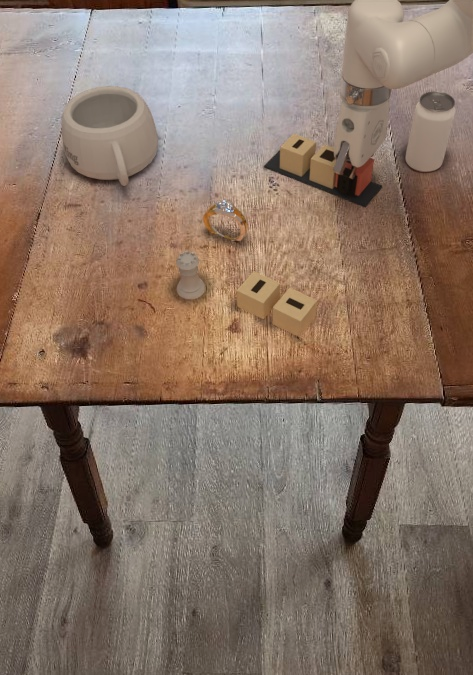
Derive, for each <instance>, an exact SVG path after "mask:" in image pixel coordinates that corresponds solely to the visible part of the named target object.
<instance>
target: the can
mask: <svg viewBox="0 0 473 675" xmlns="http://www.w3.org/2000/svg"><path fill="white" fill-rule="evenodd" d="M455 105H456V100H455V99H454V97H453V96H451V94H448V93H447V92H443V91H437V90H435V91H434V90H432V91H427V92H424V93H423V94H421V96H420V97H419V100H418V102H417V103H416V104H415V107H414V112H413V116H412V122H411V127H410V132H409V136H408V142H407V147H406V151H405V157H404V158H405V160H404V161H405V163H406V165H408V167H410V169H411V170H414V171H417V172H419V173H433V172H435V171H436V170H438V169H439V168H441V167H442V165H443V163H444V160H445V155H446V152H447V148H448V144H449V141H450V136H451V132H452V128H453V124H454V120H455V117H456V107H455Z"/></svg>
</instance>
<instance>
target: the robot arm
mask: <svg viewBox="0 0 473 675" xmlns="http://www.w3.org/2000/svg"><path fill="white" fill-rule="evenodd" d="M346 17H347V19H346V25H345V26H346V27H345V38H344V48H343V58H342V67H341V78H340V86H339V87H340V88H339V98H340V99H341V104H340V108H339V112H338V118H337V122H336V129H335V135H334V142H333V148H334V157H335V159H337V161H336V163H335V166H334V169H333V172H334V173H336V174H338V181H337V191H339V192H342V193H344V194H347V195H349V196H354V195H355V191H356V184H357V176H356V170H357V167H361V166H362V165H364V164H365V163H366V162H367V161H368V159H369V158H373V157H374V155H375V153H376V151H377V150H378V149H379V148H380V147H381V146H382V144H383V143H385V142H384V141H385V140H386V138H387V135H388V127H389V121H390V120H389V119H390V110H391V97H392V90H400V89H404V88H405V87H408V86H410V85H413V84H415V83H418V82H420V81H422V80H424V79H426V78H428V77H431V76H433V75H435V74H437V73H440V72H442V71H444V70H446V69H449V68H452V67H454V66H456V65H458V64H459V63H461V62H462V61H464V60H465V59H467V58H468V57H470V56H471V55H472V54H473V0H448V1H447V2H446V3H444V4H443V5H442V6H440V7H439V8H437V9H434V10H432V11H429V12H427V13H424V14H421V15H418V16H416V17H413V18H411V19H408V20H405V21H404V18H405V11H404V7H403V5H402V3H401V2H400V1H399V0H353V2H351V4H350V5H349V8H348V12H347V16H346ZM346 162H348V163H350V164H352V167H351V170H350V169H349V168H346V167H345V164H346Z"/></svg>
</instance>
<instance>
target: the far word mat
mask: <svg viewBox="0 0 473 675" xmlns="http://www.w3.org/2000/svg"><path fill="white" fill-rule="evenodd" d="M316 148H317V141H316V140H313V139H310V138H308V137H304V136H302V135H299V134H297V133H293V134H292V135H291V136H289V138H288V139H286V140H285V141H284V143H283V144H282V145H281V146H280V147H279V150H278V151H277V152H276V153H275V154H274V155H273V156H272V157H270V159H269V160H268V161H267V162H266V163H265V164H264V165H263V168H265V169H267V170H270V171H272V172H274V173H277V174H280V175H282V176H285V177H287V178H290V179H293V180H295V181H297V182H299V183H302V184H304V185H305V184H306V185H308V186H311V187H313V188H315V189H318V190H321V191H323V192H326V193H329V194H331V195H333V196H336V197H338V198H340V199H343V200H345V201H347V202H350V203H352V204H353V203H354V204H356V205H358V206H361V207H363V208H367V206H369V205H370V203H371V202H372V201H373V199H375V197H376V196H377V194H378V193H379V192H380V191H381V189H383V185H381V184H380V183H376V182H374V181H371V182H370V183H369V184H368V185H367V186H366V188H365V189H364V190H363V191H362V192H361V194H360V195H359V196H357V195H354V196H349V195H347V194H344V193H342V192H339V191H337V187H335V181H336V173H334V172H333V169H334V166H335V163H336V161H337V159H335V157H334V147H332V146H329V145H327V144H323V145H322V146H321V147H320V148H319V149H318V150H317V151H316Z"/></svg>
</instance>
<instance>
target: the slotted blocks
mask: <svg viewBox="0 0 473 675" xmlns="http://www.w3.org/2000/svg"><path fill="white" fill-rule="evenodd" d="M317 306H318V299H316V298H313V297H312V296H309V295H308V294H305V293H304V292H300V291H298V290H296V289H294V288H293V287H288V288H287V290H286V291H285V292H284V293H283V295H282V296H281V282H279V281H277V280H276V279H275V280H274V279H273V278H270V277H269V276H266V275H264V274H261V273H260V272H257V271H255V270H253V271H252V272H251V273H250V274H249V276H248V277H246V279H245V280H244V281H243V282H242V284H241V285H240V286H238V288H237V289H236V307H237V308H239V309H241V310H243V311H245V312H247V313H248V314H251V315H253V316H255V317H257V318H259V319H261V320H264V319H265V318H266V317H267V316H268V314H270V313H271V311H272V325H273V326H276V327H278V328H280V329H282V330H284V331H286V332H288V333H290V334H292V335H294V336H296V337H298V338H301V337H302V335H303V334H304V333H305V331H306V330H307V329H308V328H309V327H310V325H311V323H313V321H314V320H315V318H316V317H317V308H318V307H317Z"/></svg>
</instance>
